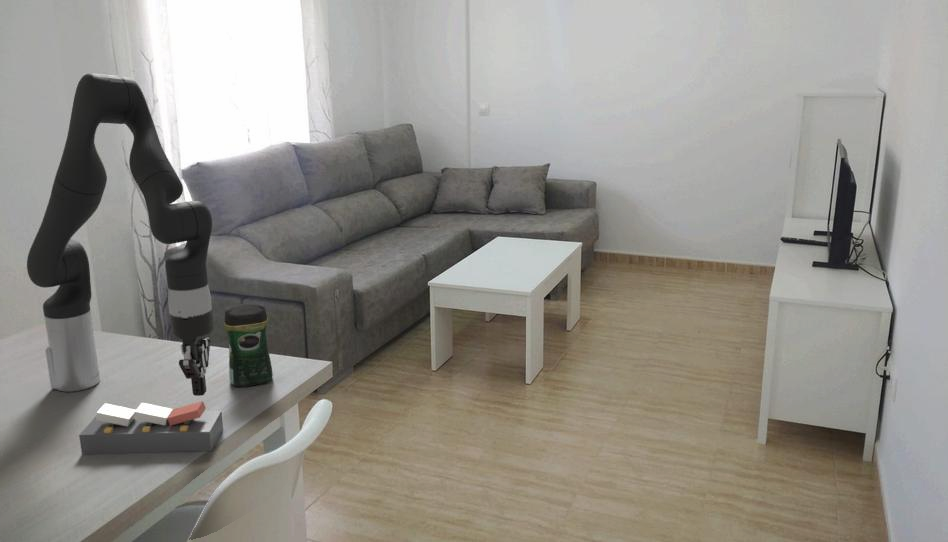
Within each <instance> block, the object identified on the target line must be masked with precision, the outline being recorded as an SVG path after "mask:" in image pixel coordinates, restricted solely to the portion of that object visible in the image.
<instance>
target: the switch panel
mask: <svg viewBox="0 0 948 542" xmlns="http://www.w3.org/2000/svg"><path fill="white" fill-rule="evenodd" d="M222 413H223V411H222V410H204V412H203V414H202V415H201V417H200V418H196V419H193V420H189V421H185V422H182V423H178V424H174V425H170V424H169V422H167V424H166V425H165V426H164V425H160V424H155V423H150V422H145V421H140V420H136V419H133V421H132V422H131V423H130V424H129V426H123V425H118V424H113V423H108V422H103V421H99V420H96V416H95V417H94V418H93V419H91V421H90V422H89V423H88V425H87V426H86V427H85V428H84V429H83V430H82V431H81V432H80V433H79V435H78V436H79V443H80V449H81V455H99V454H104V455H105V454H134V453H135V454H137V453H138V454H139V453H143V454H144V453H146V454H147V453H148V454H149V453H176V452H177V453H179V452H180V453H182V452H183V453H185V452H186V453H187V452H212V450H213V449H214V447H215V445H216V443H217V441H218V440H219V437H220V435H221V434H222V432H223V431H224V426H223V425H224V424H223V414H222Z"/></svg>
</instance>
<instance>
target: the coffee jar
mask: <svg viewBox="0 0 948 542" xmlns="http://www.w3.org/2000/svg"><path fill="white" fill-rule="evenodd" d="M265 307H266V306H265V304H264V302H262V301H257V302H247V303H239V304H231V305H226V306H225V308H224V309H225V310H224V319H223V324H224V328H225V330H226V332H227V336H228V350H229V351H228V352H229V353H228V355H229V356H228V361H229V363H228V368H229V369H228V370H229V371H228V373H229V382H230V383H231V384H232V385H233V386H235V387H237V388H238V387H239V388H240V387H250V386H255V385H256V386H257V385H261V384H266V383H268V382H270V381H271V380H273V376H274V375H273V366H272V362H271V357H270V351H269V346H268V339H267V326H268V323H269V322H268V321H269V318H268V315H267V314H268V313H267V310H266V308H265Z"/></svg>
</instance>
